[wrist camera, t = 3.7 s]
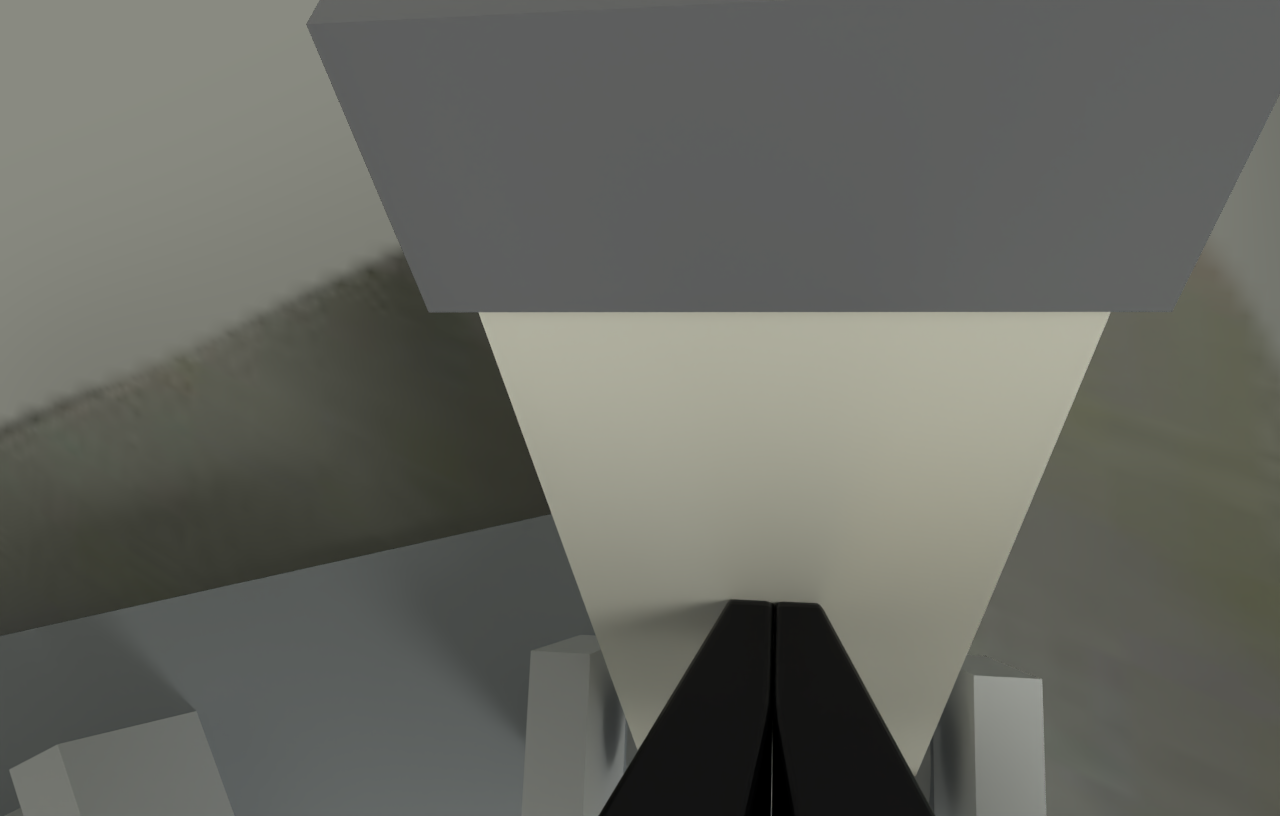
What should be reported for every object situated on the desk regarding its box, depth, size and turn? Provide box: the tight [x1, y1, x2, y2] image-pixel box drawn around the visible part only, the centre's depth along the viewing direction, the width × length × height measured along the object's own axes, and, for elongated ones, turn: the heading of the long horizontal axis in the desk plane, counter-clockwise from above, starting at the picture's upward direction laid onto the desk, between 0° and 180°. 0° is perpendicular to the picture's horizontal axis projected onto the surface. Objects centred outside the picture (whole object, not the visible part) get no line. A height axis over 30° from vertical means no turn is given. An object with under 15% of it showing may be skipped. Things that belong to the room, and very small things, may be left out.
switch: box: [307, 0, 1280, 808], centre depth 9 cm, size 2×4×12 cm, turn 88°
